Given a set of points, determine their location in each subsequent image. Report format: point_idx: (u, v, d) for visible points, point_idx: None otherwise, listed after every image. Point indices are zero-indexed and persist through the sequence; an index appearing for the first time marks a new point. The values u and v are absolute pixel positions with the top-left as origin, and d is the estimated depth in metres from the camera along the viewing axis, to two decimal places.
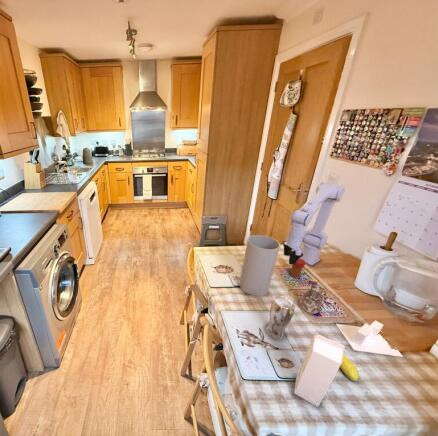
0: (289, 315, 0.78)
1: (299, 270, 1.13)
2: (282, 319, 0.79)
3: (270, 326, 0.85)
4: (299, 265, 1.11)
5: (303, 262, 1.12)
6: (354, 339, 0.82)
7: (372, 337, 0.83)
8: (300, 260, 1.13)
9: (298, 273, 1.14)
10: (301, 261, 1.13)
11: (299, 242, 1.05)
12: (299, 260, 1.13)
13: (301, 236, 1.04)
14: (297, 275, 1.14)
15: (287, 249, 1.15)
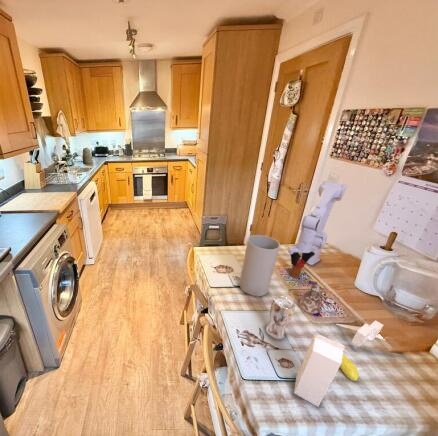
0: (289, 315, 0.78)
1: (299, 270, 1.13)
2: (282, 319, 0.79)
3: (270, 326, 0.85)
4: (299, 265, 1.11)
5: (303, 262, 1.12)
6: (354, 339, 0.82)
7: (372, 337, 0.83)
8: (300, 260, 1.13)
9: (298, 273, 1.14)
10: (301, 261, 1.13)
11: (301, 246, 1.08)
12: (299, 260, 1.13)
13: (312, 241, 1.05)
14: (297, 275, 1.14)
15: (304, 257, 1.13)
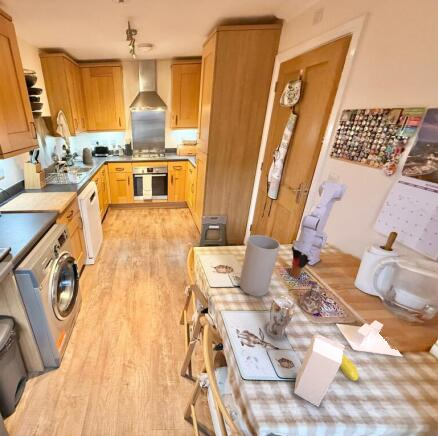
0: (289, 315, 0.78)
1: (299, 270, 1.13)
2: (282, 319, 0.79)
3: (270, 326, 0.85)
4: None
5: None
6: (354, 339, 0.82)
7: (372, 337, 0.83)
8: (298, 259, 1.14)
9: (298, 273, 1.14)
10: None
11: (310, 247, 1.07)
12: (298, 260, 1.13)
13: (312, 241, 1.05)
14: (297, 275, 1.14)
15: (296, 254, 1.15)
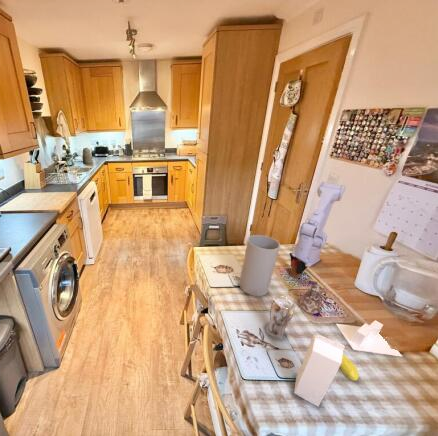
0: (289, 315, 0.78)
1: None
2: (282, 319, 0.79)
3: (270, 326, 0.85)
4: None
5: None
6: (354, 339, 0.82)
7: (372, 337, 0.83)
8: (298, 259, 1.14)
9: None
10: (300, 260, 1.13)
11: (307, 253, 1.08)
12: (298, 260, 1.13)
13: (309, 248, 1.07)
14: (297, 275, 1.14)
15: None
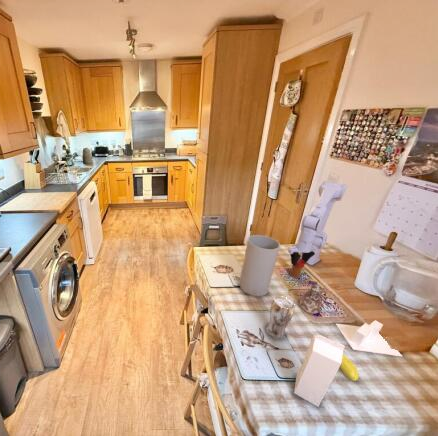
0: (289, 315, 0.78)
1: (299, 270, 1.13)
2: (282, 319, 0.79)
3: (270, 326, 0.85)
4: (304, 264, 1.12)
5: (301, 259, 1.14)
6: (353, 339, 0.82)
7: (371, 337, 0.83)
8: None
9: (298, 273, 1.14)
10: (300, 260, 1.13)
11: (301, 245, 1.08)
12: (298, 260, 1.13)
13: (312, 241, 1.05)
14: (297, 275, 1.14)
15: (304, 256, 1.13)
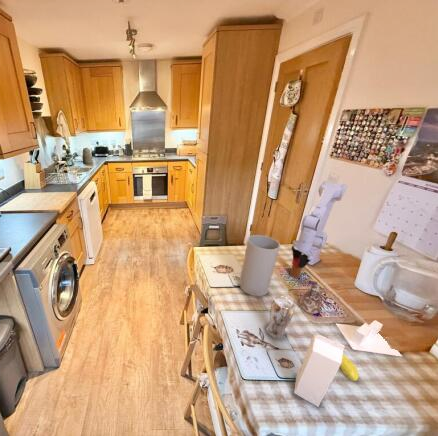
0: (289, 315, 0.78)
1: (300, 270, 1.13)
2: (282, 319, 0.79)
3: (270, 326, 0.85)
4: None
5: (296, 258, 1.15)
6: (353, 338, 0.82)
7: (371, 337, 0.83)
8: (297, 260, 1.13)
9: (299, 273, 1.14)
10: (297, 259, 1.14)
11: (310, 246, 1.07)
12: (298, 260, 1.13)
13: (312, 241, 1.05)
14: (297, 275, 1.14)
15: (296, 254, 1.15)
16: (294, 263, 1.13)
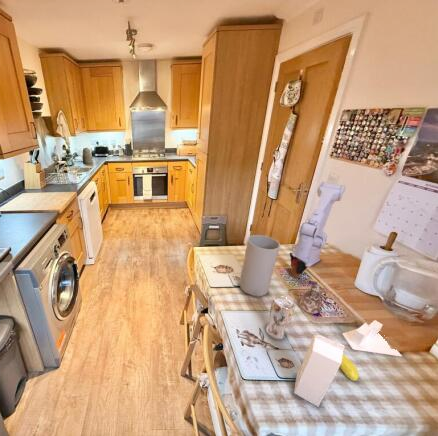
0: (289, 315, 0.78)
1: None
2: (282, 319, 0.79)
3: (270, 326, 0.85)
4: None
5: (297, 258, 1.15)
6: (353, 338, 0.82)
7: (371, 337, 0.83)
8: (297, 260, 1.13)
9: None
10: (297, 259, 1.14)
11: (307, 253, 1.08)
12: (298, 260, 1.13)
13: (309, 248, 1.07)
14: (297, 275, 1.14)
15: None
16: (294, 263, 1.13)
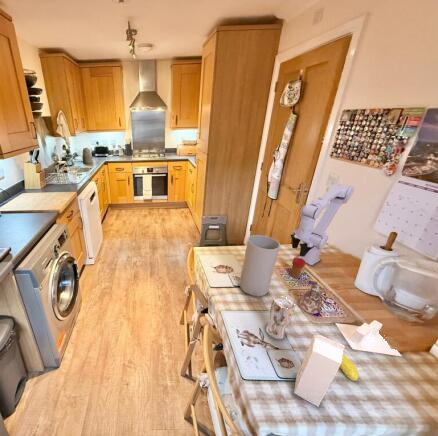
0: (289, 315, 0.78)
1: (300, 270, 1.13)
2: (282, 319, 0.79)
3: (270, 326, 0.85)
4: None
5: (297, 258, 1.15)
6: (353, 338, 0.82)
7: (371, 336, 0.83)
8: (297, 260, 1.13)
9: (299, 273, 1.14)
10: (297, 259, 1.14)
11: (309, 235, 1.11)
12: (298, 260, 1.13)
13: (310, 229, 1.10)
14: (297, 275, 1.14)
15: (295, 242, 1.21)
16: (294, 263, 1.13)
